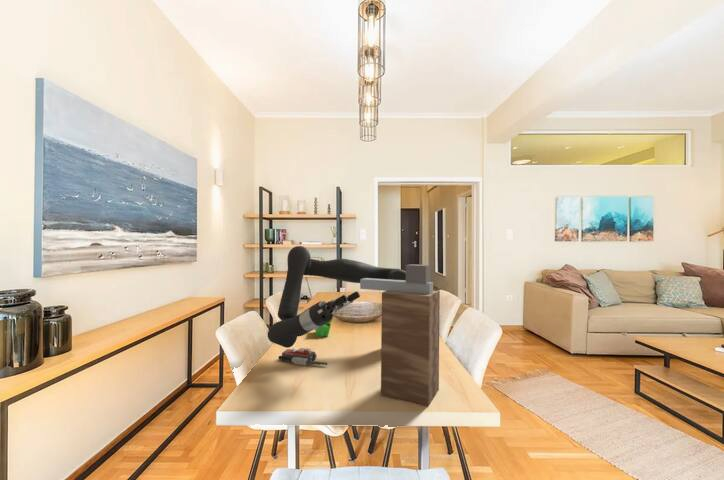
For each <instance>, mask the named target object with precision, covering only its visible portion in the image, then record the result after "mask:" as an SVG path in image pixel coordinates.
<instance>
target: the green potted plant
mask: <svg viewBox="0 0 724 480" xmlns="http://www.w3.org/2000/svg"><path fill="white" fill-rule="evenodd" d="M333 318H334V317H333ZM333 318H332V320H331V321H330V322H328V323H326V324H324V325H323V326H321V327H319V328H317V329H315V335H316V337H317V338H326V337H327V338H328V337H329V334H330V330H331V326H332V324H331V323H332V322H333Z"/></svg>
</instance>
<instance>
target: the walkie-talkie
mask: <svg viewBox="0 0 724 480" xmlns="http://www.w3.org/2000/svg"><path fill="white" fill-rule="evenodd" d="M317 357H318V356H317V353H316V352H315V351H312V350H311V349H310V348H305V347H299V348H298V349H295V347H293V348H287V349H286V350H284V351H282V352H281V355H279V356H278V360H281V361H282V362H290V363H293V364H295V365H300V366H307V365H318V366H320V365H323V366H327V365H328V362H325V361H324V362H323V361H315V360H316V359H317Z"/></svg>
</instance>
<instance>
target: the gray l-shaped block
mask: <svg viewBox="0 0 724 480" xmlns="http://www.w3.org/2000/svg"><path fill="white" fill-rule="evenodd" d="M405 272H406V280H390V279H374V278H363V279H360V283H359V284H360V285H359V287H360V288H359V289H360V290H372V291H383V292H385V291H395V292H408V293H421V294H431V293H433V290H434V282H433V281H431V264H417V263H416V264H413V263H412V264H411V263H410V264H406V265H405Z"/></svg>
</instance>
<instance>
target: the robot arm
mask: <svg viewBox="0 0 724 480" xmlns="http://www.w3.org/2000/svg"><path fill="white" fill-rule="evenodd" d="M286 259H287V260H286V261H287V272H286V273H287V274H286V277H285V281H284V286H283V290H282V294H281V298H280V301H279V306H278V311H277V317H278V318H279V321H277V322H275V323H273V324H272V325H271V326H270V327H269V328H268V331H267V338H268V340H269V342H271V344H275V345H279V346H280V347H283V348H285V349H286V348H287V349H290V348H291V347H293V346H294V345H295V343H296V341H297V339H298V337H302V336H304V335H307V334H308V333H310V332H312V331H314V330H315V329H317V328H319V327H321V326H323V325H324V324H326V323H328V322H330V321H331V320H332V318H334V313H335V314H336V313H338V312H339V311H341V310H342V309H344V308H346V307H347V306H349V305H350V304H352V303H354V301H355V300H357V299H359V298H361V295H360V293H359V291H357V290H356V291H354V292H353V293H350V294H349V295H346V294H343V295H340V296H339V297H337V298H336V299H332V300H329V301H328V302H326V301H324V300H320V301H318V302H316V303H314V304H313V305H311V306H309V307H307V308H306V309H305V310H303V311H302V312H301V313H299V314H298V311H299V306H300V300H301V291H302V283H303V278H304V276H309V277H314V276H315V277H321V278H325V279H331V280H336V281H341V282H346V283H352V284H360V279H363V278H374V279H390V280H406V270H403V269H401V268H394V267H392V268H391V267H379V266H375V265H372V264H370V263H365V262H361V261H358V260H354V259H348V258H335V259H330V260H319V259H315V258H311V254H310V251H309V250H308V249H307V248H306V247H304V246H303V245H302V246H301V245H298V246H293V247H292V248H291V249H290V250H289V251H288V253H287V258H286ZM332 321H333V320H332Z"/></svg>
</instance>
